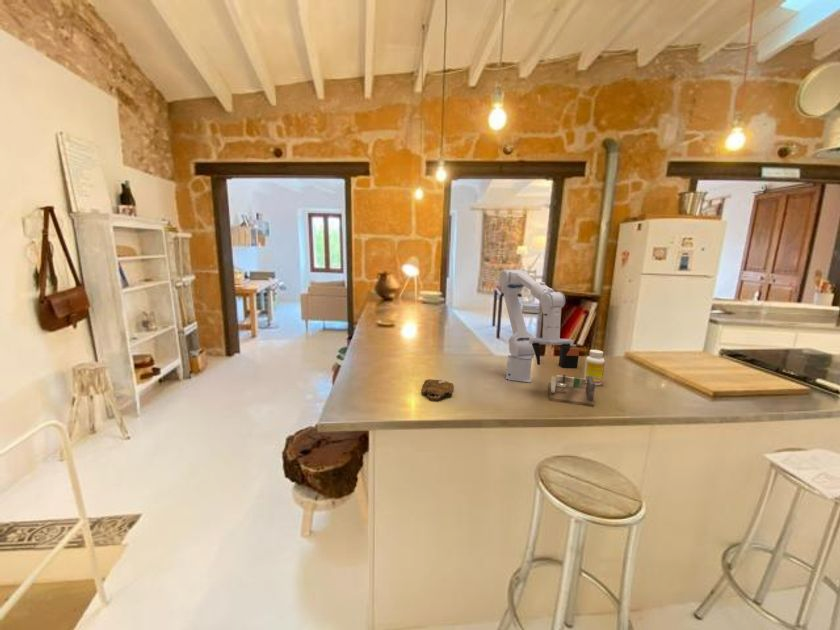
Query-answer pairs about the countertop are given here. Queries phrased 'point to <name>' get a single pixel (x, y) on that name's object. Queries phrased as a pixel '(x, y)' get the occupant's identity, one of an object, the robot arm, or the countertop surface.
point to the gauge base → (574, 391)
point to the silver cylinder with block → (557, 384)
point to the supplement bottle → (595, 366)
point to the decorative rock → (437, 388)
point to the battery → (571, 358)
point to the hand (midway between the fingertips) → (549, 364)
